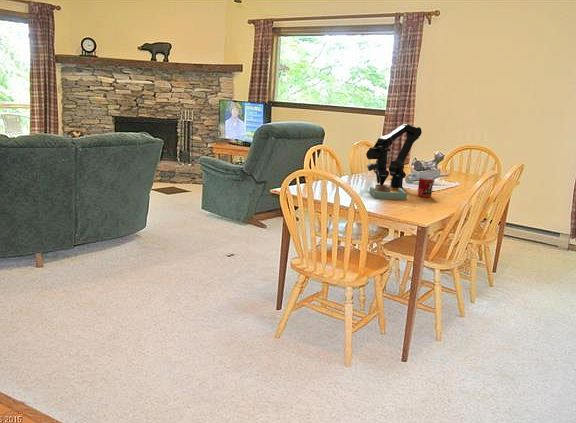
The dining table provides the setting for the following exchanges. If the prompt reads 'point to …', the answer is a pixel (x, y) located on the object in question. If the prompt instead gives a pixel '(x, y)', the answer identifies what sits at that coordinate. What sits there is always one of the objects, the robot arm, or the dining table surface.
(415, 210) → the dining table surface
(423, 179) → the canned food
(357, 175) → the dining table surface
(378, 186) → the tan wooden block
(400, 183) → the robot arm
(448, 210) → the dining table surface
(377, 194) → the box
